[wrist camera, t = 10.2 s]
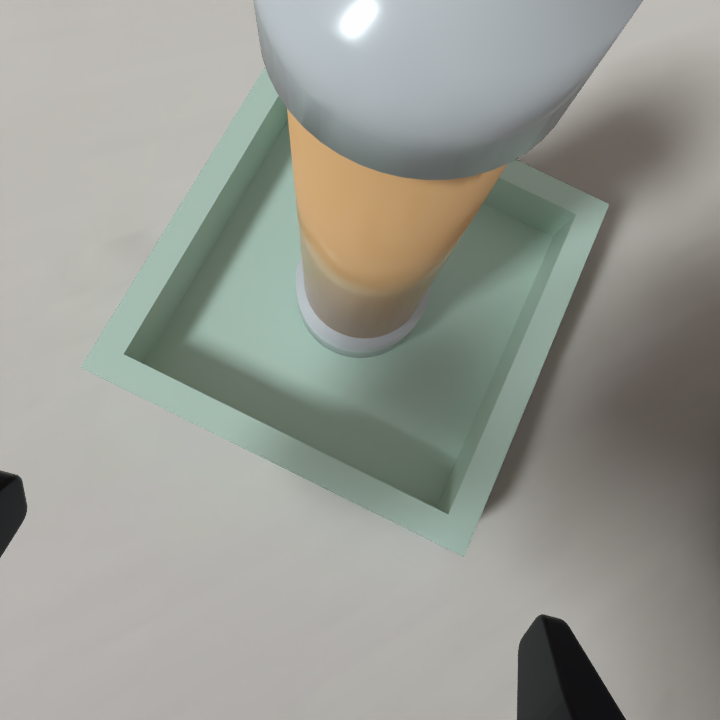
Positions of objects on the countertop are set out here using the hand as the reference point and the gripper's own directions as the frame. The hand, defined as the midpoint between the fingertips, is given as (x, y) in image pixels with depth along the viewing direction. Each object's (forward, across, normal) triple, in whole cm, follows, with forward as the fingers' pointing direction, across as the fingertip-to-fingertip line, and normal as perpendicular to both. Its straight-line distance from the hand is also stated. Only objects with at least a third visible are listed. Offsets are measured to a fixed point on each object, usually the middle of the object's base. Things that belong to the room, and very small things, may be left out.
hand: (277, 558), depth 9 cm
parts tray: (+14, 0, +2) cm, 14 cm away
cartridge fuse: (+13, 0, +1) cm, 13 cm away
